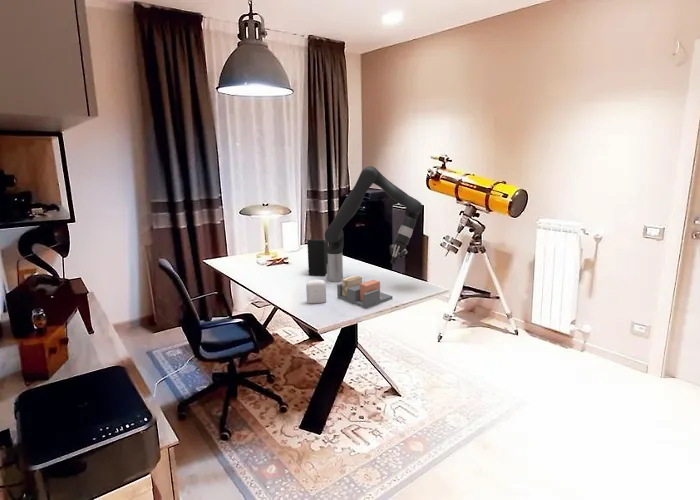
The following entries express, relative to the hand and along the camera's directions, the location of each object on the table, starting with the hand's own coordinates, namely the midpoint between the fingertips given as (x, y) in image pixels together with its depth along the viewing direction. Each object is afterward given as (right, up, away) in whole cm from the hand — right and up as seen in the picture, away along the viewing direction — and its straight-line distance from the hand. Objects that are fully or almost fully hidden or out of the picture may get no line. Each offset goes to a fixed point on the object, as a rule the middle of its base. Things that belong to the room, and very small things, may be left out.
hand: (392, 263), depth 239 cm
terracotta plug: (-13, -18, -14) cm, 27 cm away
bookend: (-43, -6, +43) cm, 61 cm away
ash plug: (-23, -16, -7) cm, 29 cm away
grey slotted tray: (-16, -19, -8) cm, 26 cm away
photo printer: (-42, -20, -12) cm, 48 cm away
